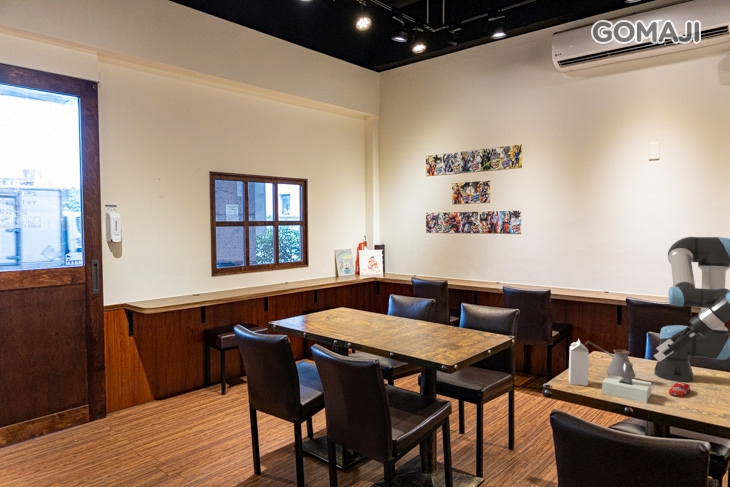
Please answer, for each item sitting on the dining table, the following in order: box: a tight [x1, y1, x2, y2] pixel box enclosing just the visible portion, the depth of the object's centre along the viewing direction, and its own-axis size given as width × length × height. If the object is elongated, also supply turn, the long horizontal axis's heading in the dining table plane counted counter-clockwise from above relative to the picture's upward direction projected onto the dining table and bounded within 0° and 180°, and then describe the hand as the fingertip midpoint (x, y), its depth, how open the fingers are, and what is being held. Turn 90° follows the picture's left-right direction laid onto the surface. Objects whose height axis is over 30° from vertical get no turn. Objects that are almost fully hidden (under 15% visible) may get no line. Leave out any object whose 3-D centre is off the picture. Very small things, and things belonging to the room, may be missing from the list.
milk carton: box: [568, 338, 590, 387], centre depth 209 cm, size 7×7×19 cm
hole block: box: [601, 374, 652, 404], centre depth 196 cm, size 16×12×5 cm
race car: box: [668, 381, 691, 398], centre depth 198 cm, size 13×5×4 cm, turn 130°
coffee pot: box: [584, 340, 636, 379], centre depth 217 cm, size 21×12×15 cm, turn 45°
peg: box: [622, 361, 634, 385], centre depth 195 cm, size 4×4×13 cm
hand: (657, 354), depth 189 cm, fingers open, 13 cm apart
